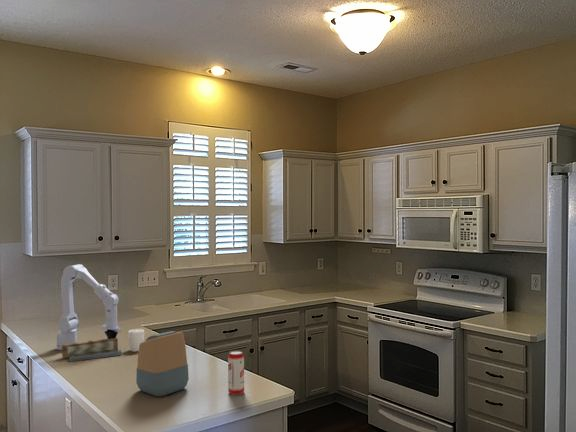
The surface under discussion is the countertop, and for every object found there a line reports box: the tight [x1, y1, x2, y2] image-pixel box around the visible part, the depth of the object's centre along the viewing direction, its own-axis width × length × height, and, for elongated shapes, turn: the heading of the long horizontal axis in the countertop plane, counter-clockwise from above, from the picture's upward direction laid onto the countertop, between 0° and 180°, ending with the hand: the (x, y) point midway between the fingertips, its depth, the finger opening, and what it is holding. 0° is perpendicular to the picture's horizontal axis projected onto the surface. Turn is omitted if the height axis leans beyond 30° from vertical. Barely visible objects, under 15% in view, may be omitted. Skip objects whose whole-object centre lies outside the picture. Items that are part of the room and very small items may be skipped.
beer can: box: [227, 350, 245, 396], centre depth 206 cm, size 6×6×16 cm
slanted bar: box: [68, 349, 123, 362], centre depth 257 cm, size 24×3×2 cm, turn 114°
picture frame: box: [61, 337, 119, 359], centre depth 263 cm, size 26×3×6 cm, turn 119°
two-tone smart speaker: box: [135, 330, 189, 398], centre depth 210 cm, size 17×17×23 cm
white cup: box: [127, 328, 145, 352], centre depth 270 cm, size 8×8×10 cm
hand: (111, 344), depth 270 cm, fingers closed
